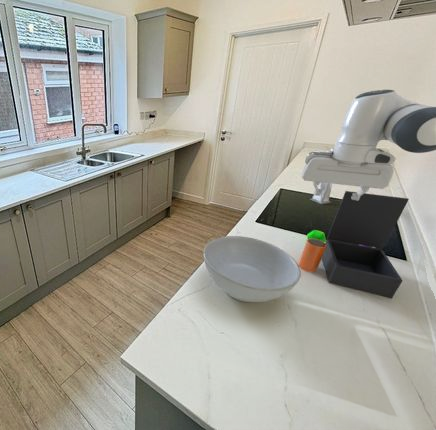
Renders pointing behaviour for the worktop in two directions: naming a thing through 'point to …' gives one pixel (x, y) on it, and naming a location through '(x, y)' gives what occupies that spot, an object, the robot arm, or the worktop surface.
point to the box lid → (366, 219)
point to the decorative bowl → (250, 268)
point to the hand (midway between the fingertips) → (335, 197)
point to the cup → (312, 255)
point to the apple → (316, 235)
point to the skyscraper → (323, 193)
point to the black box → (360, 268)
